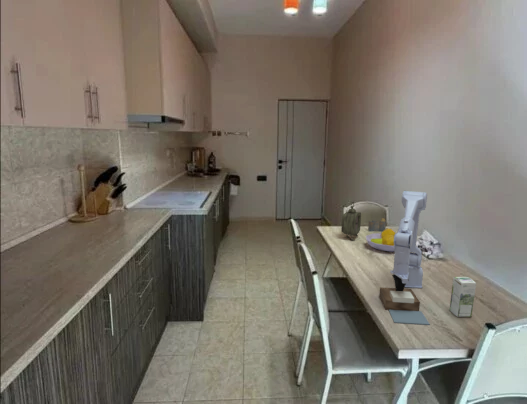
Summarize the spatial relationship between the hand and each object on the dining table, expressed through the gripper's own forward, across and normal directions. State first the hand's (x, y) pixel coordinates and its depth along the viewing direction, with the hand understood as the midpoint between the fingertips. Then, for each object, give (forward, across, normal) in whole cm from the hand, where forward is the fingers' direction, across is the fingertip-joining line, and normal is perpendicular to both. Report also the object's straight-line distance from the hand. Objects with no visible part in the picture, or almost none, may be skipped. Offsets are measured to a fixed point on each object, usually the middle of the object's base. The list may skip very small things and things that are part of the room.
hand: (399, 292), depth 145 cm
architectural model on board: (+5, -112, +12) cm, 113 cm away
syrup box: (+5, +6, +22) cm, 23 cm away
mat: (+5, +11, +1) cm, 12 cm away
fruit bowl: (+5, -72, +12) cm, 73 cm away
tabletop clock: (+5, -91, -9) cm, 92 cm away
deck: (+5, 0, 0) cm, 5 cm away
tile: (+1, +4, 0) cm, 4 cm away
